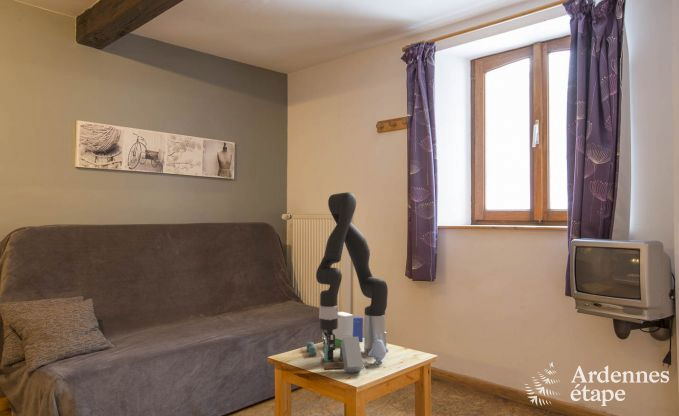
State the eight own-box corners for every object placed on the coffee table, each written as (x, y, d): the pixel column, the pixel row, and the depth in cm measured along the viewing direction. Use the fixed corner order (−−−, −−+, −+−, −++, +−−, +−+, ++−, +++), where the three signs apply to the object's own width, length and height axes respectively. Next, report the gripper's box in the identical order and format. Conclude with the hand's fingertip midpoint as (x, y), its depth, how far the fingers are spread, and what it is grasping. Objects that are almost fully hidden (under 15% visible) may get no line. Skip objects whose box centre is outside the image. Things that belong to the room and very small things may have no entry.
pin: (331, 365, 192) (331, 343, 192) (332, 367, 189) (332, 345, 189) (323, 365, 192) (323, 343, 192) (324, 368, 189) (325, 345, 189)
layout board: (317, 351, 212) (317, 340, 212) (323, 359, 200) (323, 348, 200) (300, 352, 211) (300, 341, 211) (304, 360, 198) (304, 349, 198)
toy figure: (383, 359, 201) (383, 331, 201) (392, 363, 196) (393, 334, 196) (363, 363, 195) (363, 334, 195) (373, 367, 190) (373, 338, 190)
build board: (346, 362, 196) (346, 340, 196) (351, 368, 189) (351, 346, 189) (320, 364, 194) (321, 342, 194) (324, 370, 186) (324, 347, 186)
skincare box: (330, 346, 220) (331, 313, 220) (341, 343, 225) (341, 311, 225) (343, 350, 214) (343, 315, 214) (353, 347, 219) (353, 313, 219)
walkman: (361, 340, 231) (361, 316, 231) (362, 342, 228) (362, 317, 228) (345, 340, 230) (346, 316, 230) (346, 342, 227) (346, 317, 228)
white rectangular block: (355, 342, 192) (358, 336, 188) (359, 371, 185) (363, 366, 180) (340, 343, 191) (343, 337, 186) (345, 372, 183) (347, 367, 179)
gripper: (316, 313, 197) (315, 352, 197) (322, 320, 183) (322, 362, 183) (333, 312, 199) (333, 351, 198) (341, 320, 185) (341, 361, 184)
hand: (328, 356), depth 190 cm, fingers open, 8 cm apart
